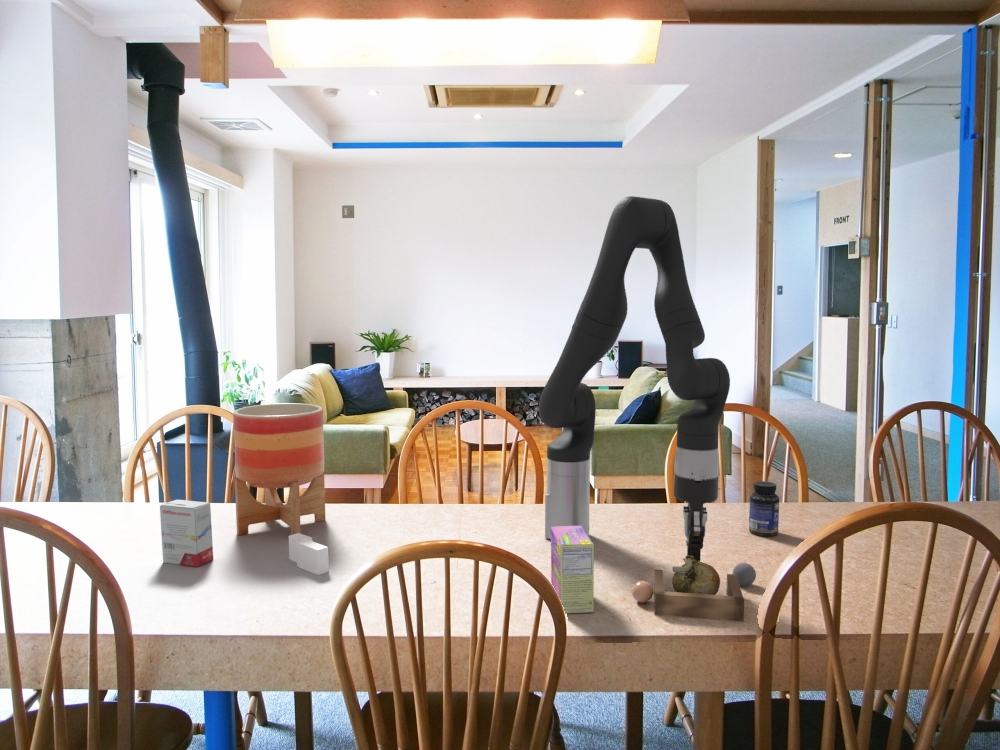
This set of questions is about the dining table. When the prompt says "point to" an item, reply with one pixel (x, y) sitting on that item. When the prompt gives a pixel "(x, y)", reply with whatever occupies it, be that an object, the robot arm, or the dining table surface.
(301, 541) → the white stepped block
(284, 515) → the planter
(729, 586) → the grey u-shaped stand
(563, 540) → the box
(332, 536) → the dining table surface
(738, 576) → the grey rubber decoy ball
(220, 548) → the dining table surface
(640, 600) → the glossy pink ball
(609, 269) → the robot arm
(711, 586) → the onion
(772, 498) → the pill bottle
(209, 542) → the ink box
